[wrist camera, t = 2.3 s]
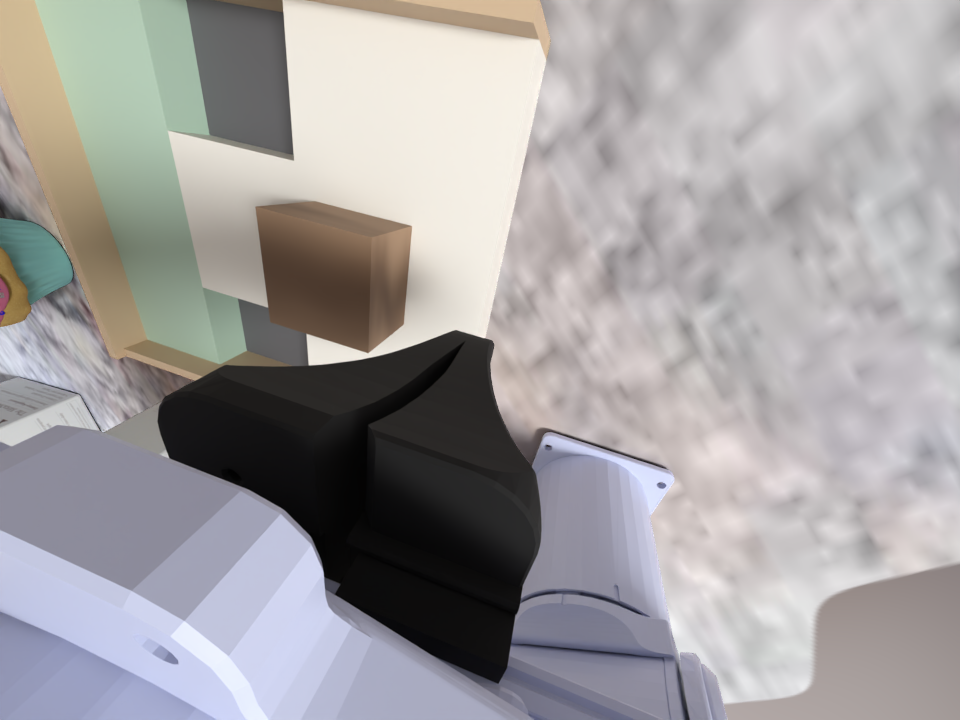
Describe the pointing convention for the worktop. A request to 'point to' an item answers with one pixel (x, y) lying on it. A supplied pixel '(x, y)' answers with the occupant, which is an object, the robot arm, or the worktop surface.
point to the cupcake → (28, 268)
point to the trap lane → (270, 154)
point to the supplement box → (38, 410)
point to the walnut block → (334, 272)
